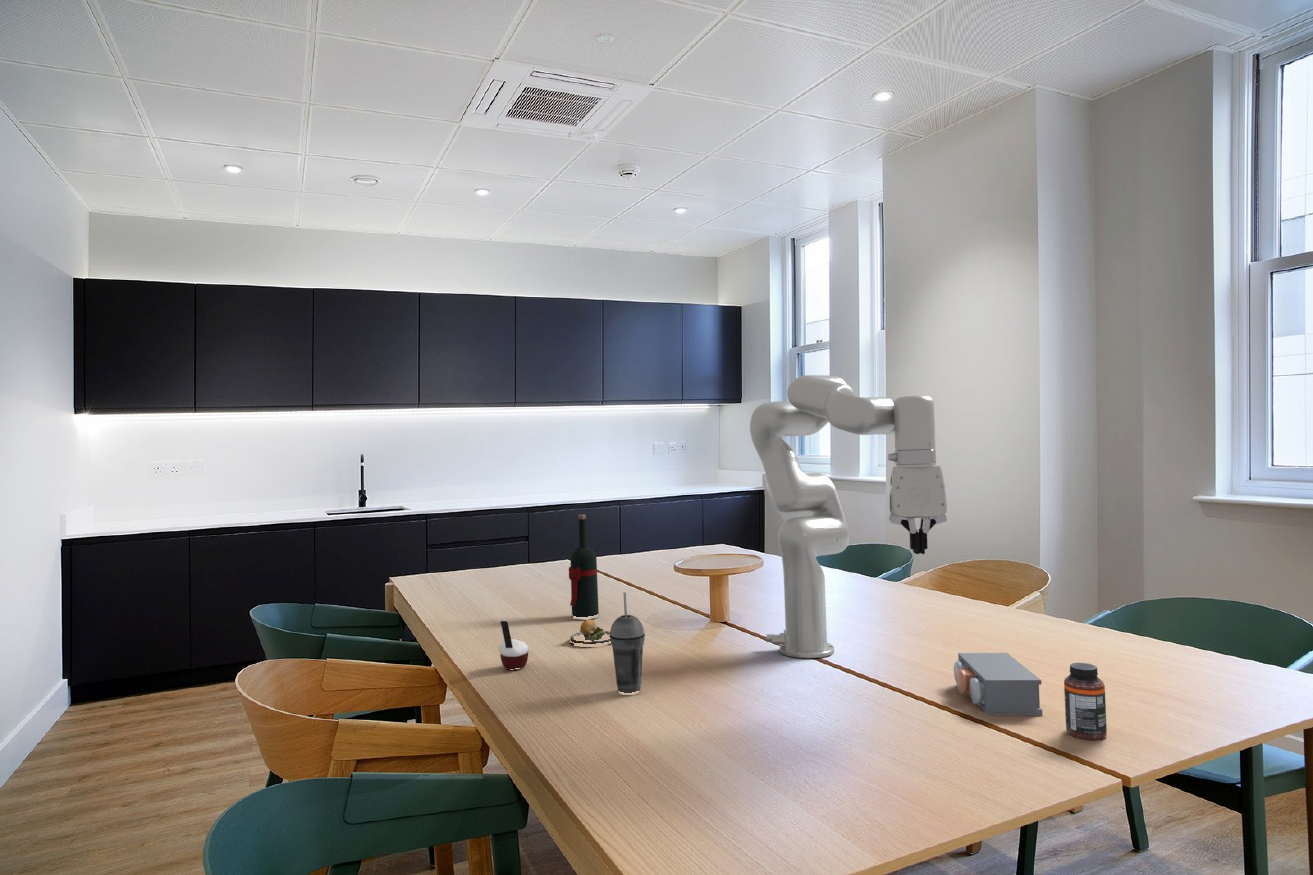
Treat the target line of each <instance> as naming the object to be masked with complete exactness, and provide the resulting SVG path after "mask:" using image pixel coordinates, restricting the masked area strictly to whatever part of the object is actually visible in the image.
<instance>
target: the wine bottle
mask: <svg viewBox="0 0 1313 875" xmlns="http://www.w3.org/2000/svg"><path fill="white" fill-rule="evenodd" d="M586 516H587V514H584V513H583V514H577V517H578V520H577V521H578V547H577V548H575V549H574V550H573V551H572V552H571V555H570V557H569V558H570V560H569V561H570V566H569V567H568V578H569V580H570V591H571V592H570V593H571V595H570V597H571V599H570V605H569V607H571V616H572V615H573V616H576V617H588V616H594V615H597V614H599V615H600V612H599V588H598V586H599V585H598V563H597V555H596V552H595V551H594V550H593V549H592V548H591V547H588V540H587V538H588V536H587V517H586ZM583 615H584V616H583Z"/></svg>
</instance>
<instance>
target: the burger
mask: <svg viewBox="0 0 1313 875" xmlns="http://www.w3.org/2000/svg"><path fill="white" fill-rule="evenodd" d="M583 616H584V615H583ZM605 634H607V635H610V631H608V630H607V631H605V630H604V629H603V628H601V627H599V626H598V623H597V621H595V619H593V620H591V619H589V620H584V621H582V623H581V625H580V630H579V632H577V633H574V634H573V635H570V637H569V638H570V639H569V641H570V640H571V641H572V642H574V643H583V644H596V643H604V642H609V641H611V639H608V640H603V641H594V640H599V639H601V638H602V636H603V635H605ZM580 635H584V637H585V640H591V641H592V642H584V641H576V640H574V637H575V636H580Z"/></svg>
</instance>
